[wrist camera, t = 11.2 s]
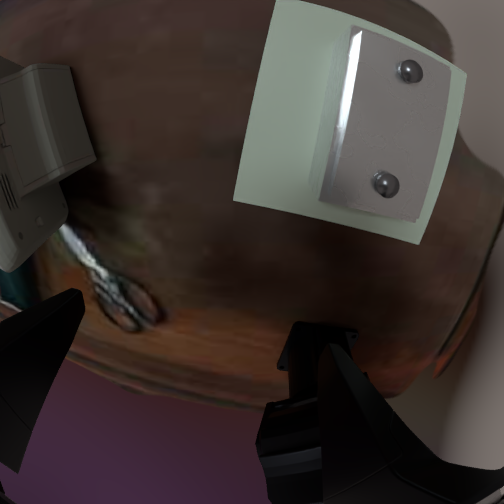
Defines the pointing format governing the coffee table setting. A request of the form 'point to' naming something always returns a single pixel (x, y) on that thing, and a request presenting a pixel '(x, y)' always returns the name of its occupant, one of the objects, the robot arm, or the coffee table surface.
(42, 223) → the digital clock
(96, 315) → the coffee table surface
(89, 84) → the coffee table surface
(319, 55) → the stand
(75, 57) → the coffee table surface
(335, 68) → the block
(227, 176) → the coffee table surface
